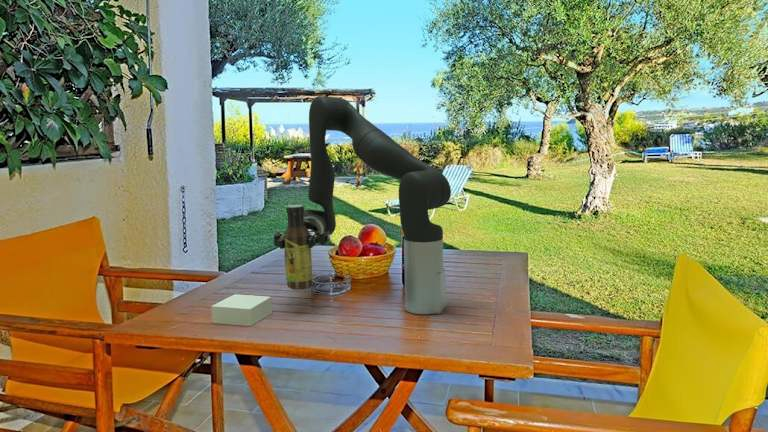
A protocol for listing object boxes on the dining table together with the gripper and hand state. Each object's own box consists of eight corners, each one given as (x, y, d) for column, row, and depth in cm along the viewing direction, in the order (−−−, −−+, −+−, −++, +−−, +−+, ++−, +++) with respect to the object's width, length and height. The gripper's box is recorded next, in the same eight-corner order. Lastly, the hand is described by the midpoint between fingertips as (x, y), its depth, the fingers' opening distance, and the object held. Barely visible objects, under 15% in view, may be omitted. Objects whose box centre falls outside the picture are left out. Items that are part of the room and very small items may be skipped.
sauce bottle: (284, 286, 143) (278, 205, 140) (309, 282, 145) (303, 202, 142) (290, 292, 137) (285, 207, 134) (316, 288, 139) (311, 205, 136)
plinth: (272, 312, 141) (271, 296, 141) (250, 326, 132) (249, 309, 131) (235, 310, 144) (234, 294, 144) (212, 322, 135) (211, 306, 134)
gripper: (279, 218, 153) (264, 229, 137) (334, 216, 153) (325, 227, 136) (281, 246, 155) (266, 260, 138) (335, 245, 154) (326, 258, 137)
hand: (295, 244), depth 137 cm, fingers closed on sauce bottle, 6 cm apart
